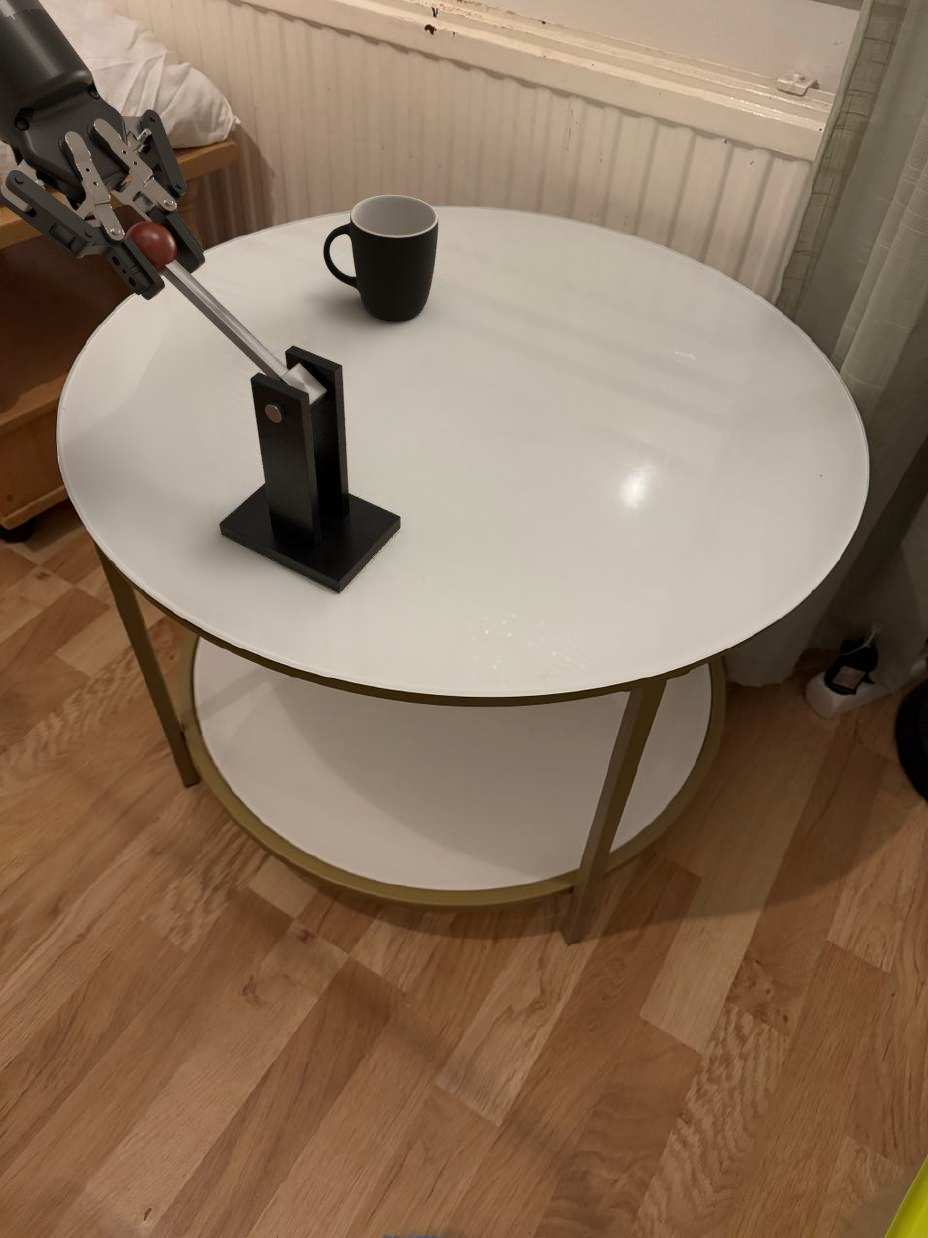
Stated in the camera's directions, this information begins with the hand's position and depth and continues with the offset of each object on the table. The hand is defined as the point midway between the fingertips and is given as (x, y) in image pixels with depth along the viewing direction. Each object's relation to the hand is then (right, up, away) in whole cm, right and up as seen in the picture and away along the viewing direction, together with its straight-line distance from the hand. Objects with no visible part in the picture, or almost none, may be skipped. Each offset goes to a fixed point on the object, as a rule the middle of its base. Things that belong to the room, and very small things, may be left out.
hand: (177, 279), depth 64 cm
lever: (+2, -3, +2) cm, 5 cm away
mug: (+11, +10, +35) cm, 38 cm away
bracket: (+8, -17, +12) cm, 22 cm away
